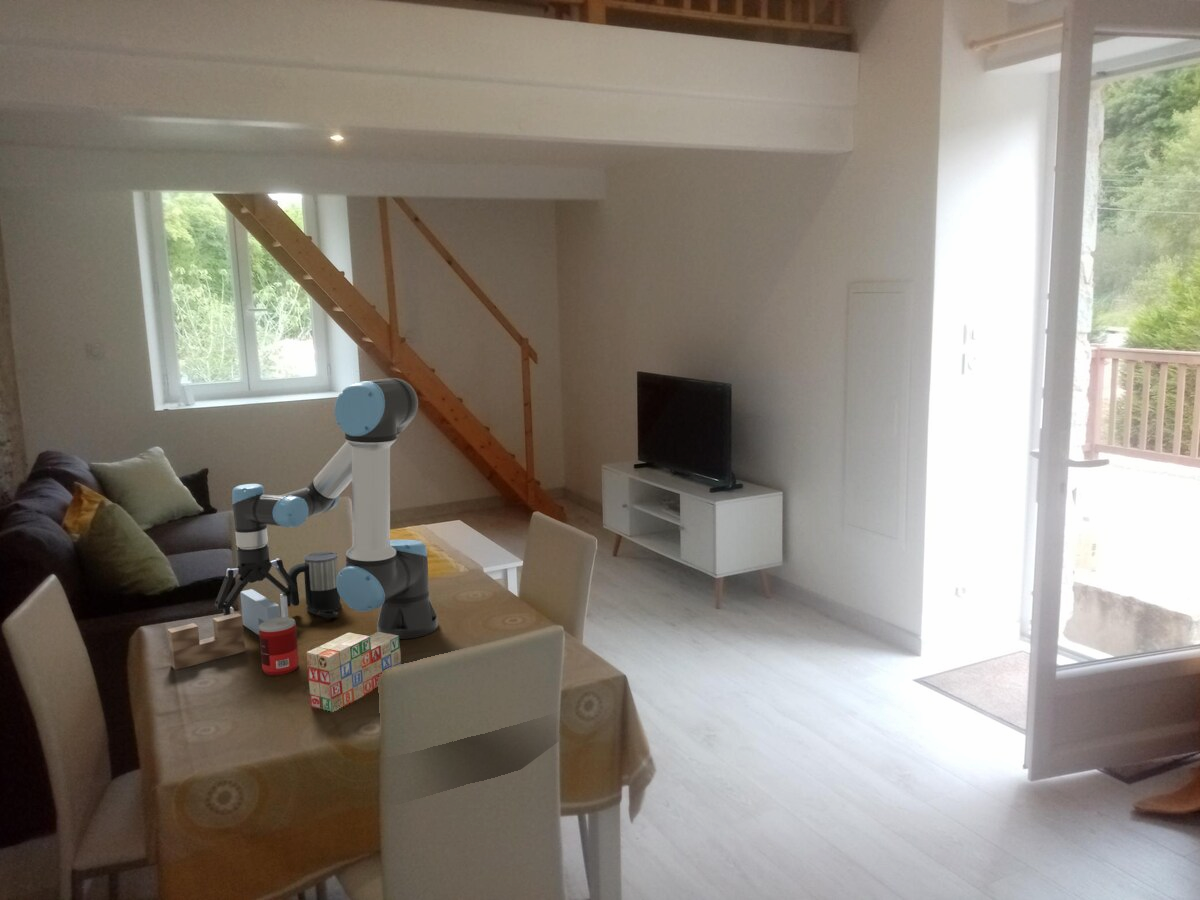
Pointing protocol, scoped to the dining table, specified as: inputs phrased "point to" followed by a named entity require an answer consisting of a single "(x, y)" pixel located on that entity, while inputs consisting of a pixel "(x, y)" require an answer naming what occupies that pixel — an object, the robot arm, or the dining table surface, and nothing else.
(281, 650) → the canned food
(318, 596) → the milk frother
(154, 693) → the dining table surface
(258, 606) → the pale blue flat block
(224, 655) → the light brown wooden block
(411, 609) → the robot arm
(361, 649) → the stack of blocks
